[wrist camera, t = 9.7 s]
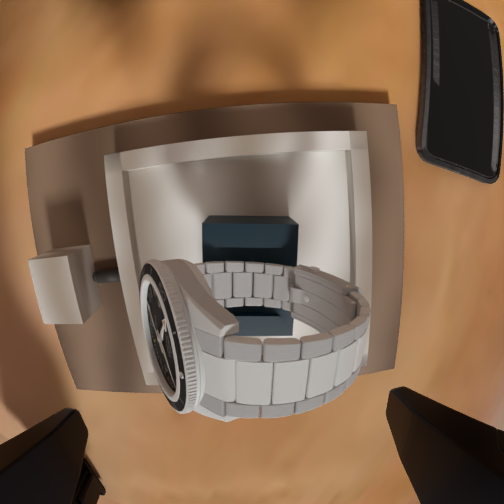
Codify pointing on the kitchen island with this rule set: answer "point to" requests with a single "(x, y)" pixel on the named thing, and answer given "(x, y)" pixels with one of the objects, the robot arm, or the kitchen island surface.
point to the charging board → (211, 203)
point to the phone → (460, 90)
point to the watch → (250, 324)
